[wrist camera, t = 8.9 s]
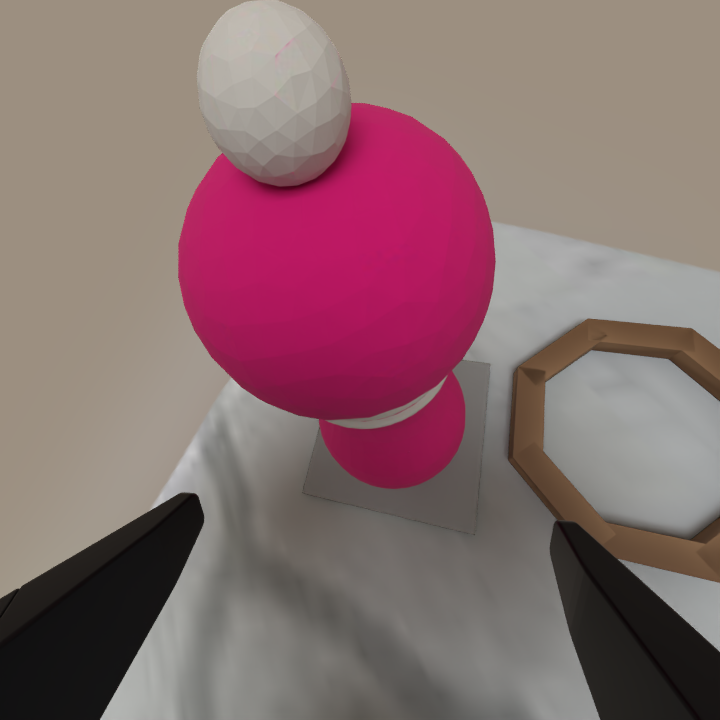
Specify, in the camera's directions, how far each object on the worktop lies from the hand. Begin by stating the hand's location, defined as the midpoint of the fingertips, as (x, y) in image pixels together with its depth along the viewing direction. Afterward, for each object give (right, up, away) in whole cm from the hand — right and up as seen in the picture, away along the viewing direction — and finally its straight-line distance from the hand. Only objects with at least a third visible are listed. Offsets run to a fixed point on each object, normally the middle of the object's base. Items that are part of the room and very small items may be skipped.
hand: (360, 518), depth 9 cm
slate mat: (+2, 0, +13) cm, 13 cm away
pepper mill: (+2, 0, +13) cm, 13 cm away
